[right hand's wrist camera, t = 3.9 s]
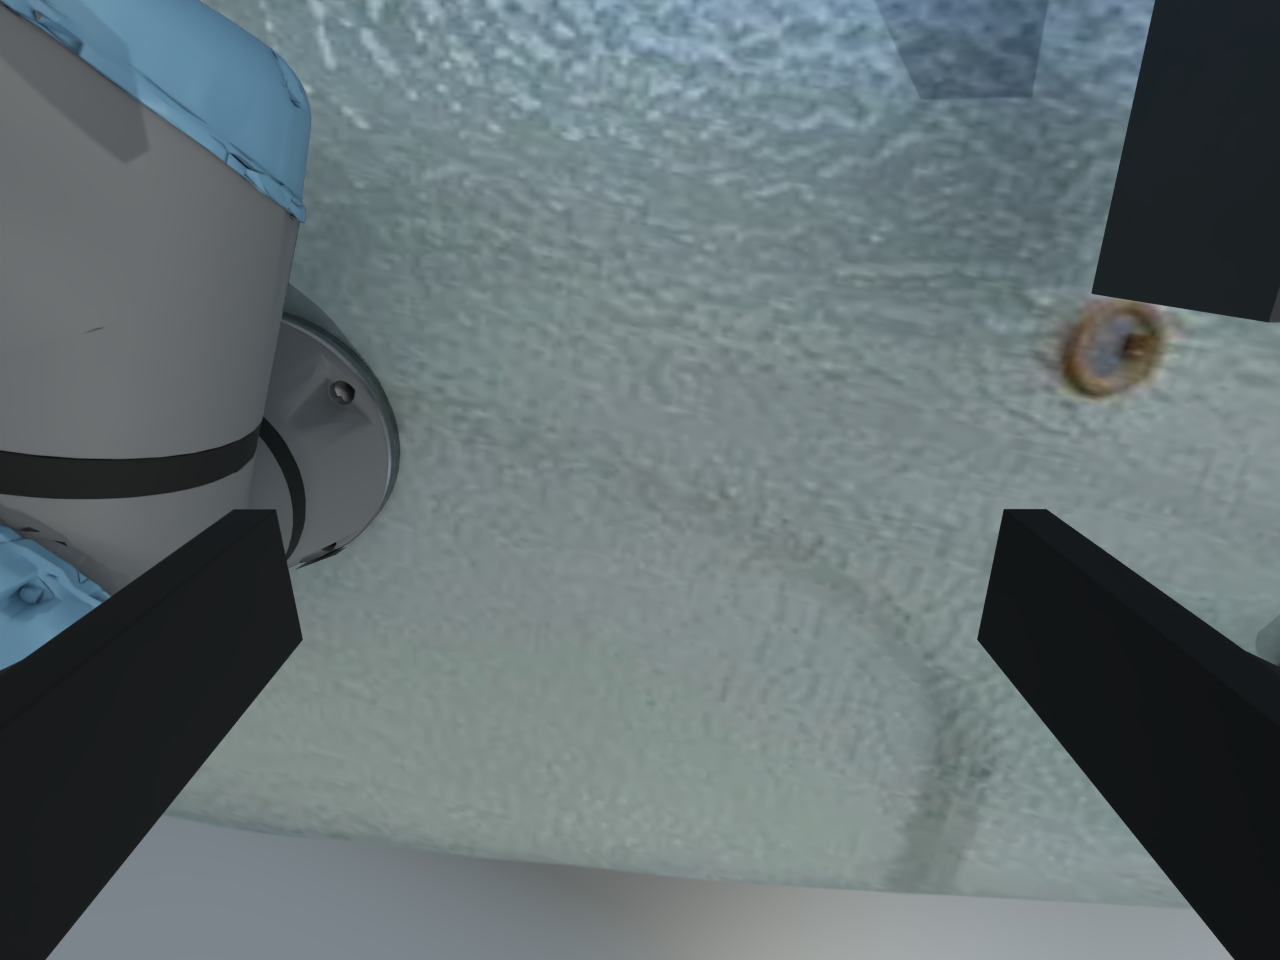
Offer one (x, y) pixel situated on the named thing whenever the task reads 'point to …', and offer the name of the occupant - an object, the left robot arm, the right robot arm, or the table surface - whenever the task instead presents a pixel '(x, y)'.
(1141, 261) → the box
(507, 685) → the table surface
